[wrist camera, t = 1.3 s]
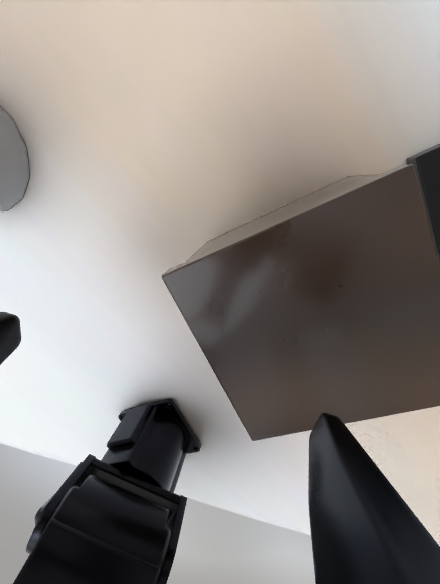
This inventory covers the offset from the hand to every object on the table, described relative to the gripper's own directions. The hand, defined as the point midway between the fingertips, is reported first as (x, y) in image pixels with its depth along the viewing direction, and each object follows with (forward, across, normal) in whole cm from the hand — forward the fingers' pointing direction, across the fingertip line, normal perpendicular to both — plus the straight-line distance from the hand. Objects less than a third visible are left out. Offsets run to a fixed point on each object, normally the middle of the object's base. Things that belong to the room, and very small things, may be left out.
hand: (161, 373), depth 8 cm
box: (+13, -5, 0) cm, 14 cm away
